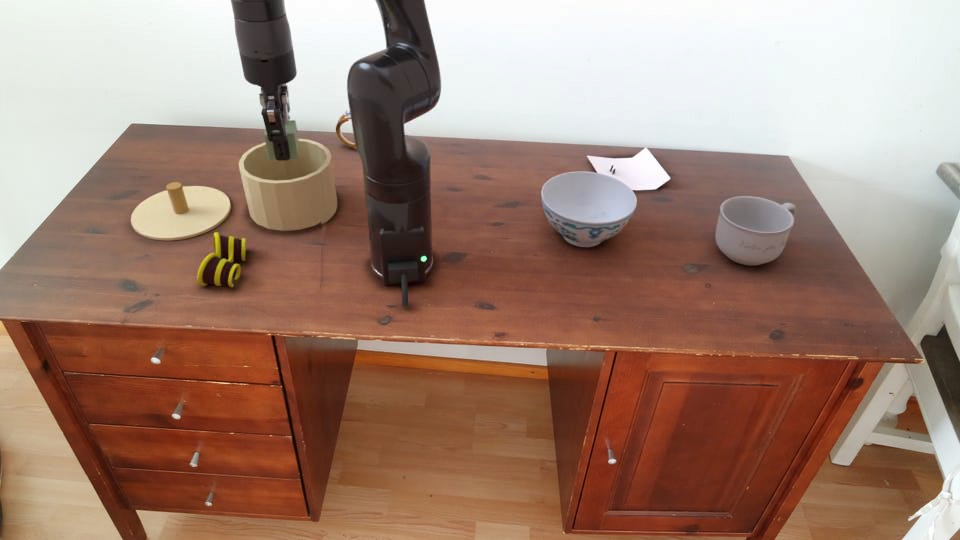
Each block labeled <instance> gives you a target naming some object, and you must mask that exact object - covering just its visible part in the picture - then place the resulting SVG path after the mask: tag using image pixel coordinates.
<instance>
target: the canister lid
mask: <svg viewBox="0 0 960 540" xmlns="http://www.w3.org/2000/svg"><path fill="white" fill-rule="evenodd" d="M165 188H166V190H163V191H159V192H158V193H155V194H153V195H151V196H149V197H147V198H146V199H144V200H143V201H141V202H140V203H139V204H138V205H137V206H136V207H135V208H134V210H133V211H132V213H131V215H130V224H131V227H132V228H133V230H134V231H135V232H136V233H137V234H138V235H139V236H141V237H144V238H147V239H150V240H153V241H154V240H155V241H163V242H164V241H166V242H167V241H168V242H169V241H171V242H172V241H181V240H186V239H190V238H195V237H197V236H201V235H203V234H206V233H207V232H209V231H212V230H214V229H215V228H217V227H219V225H221V224H222V223H223V222H224V221H225V220H226V219H227V218H228V217H229V215H230V212H231V208H232V205H231V201H230V199H229V196H228V195H226V194H225V192H223V191H222V190H219V189H217V188H214V187H210V186H203V185H202V186H201V185H186V186H185V185H184V186H182V183H181V182H179V181H172V182H169V183H168V184H166V185H165Z"/></svg>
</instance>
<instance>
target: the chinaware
mask: <svg viewBox="0 0 960 540" xmlns="http://www.w3.org/2000/svg"><path fill="white" fill-rule="evenodd" d="M540 197H541V205H542V208H543V212H544V214H545V217H546V219H547V221H548V223H549V224H550V225H551V227H552V228H553V229H554V230H555V231H556V232H557V233H558V234H560V235H561V236H562V237H563V239H564V240H565V241H566V242H568V243H569V244H571V245H573V246H575V247H580V248H591V247H595V246H598V245H599V244H601V243H602V242H604V241H607V240H609V239H611V238H613V237H615V236H616V235H617V234H619V233H620V232H621V231H622V230H623V229H624V228H625V227H626V226H627V225H628V223H629V221H630V220H631V219H632V217H633V215H634V213H635V210H636V208H637V205H638V200H637V196H636V193H635V192H634V190H631V188H630V187H628V186H627V185H626V184H625V183H623V182H621V181H620V180H618V179H616V178H613V177H611V176H608V175H604V174H600V173H597V172H594V171H582V170H579V171H577V170H576V171H569V172H564V173H563V172H562V173H560V174H556V175H554V176H552V177H550V179H548V180H546V182H545V183H544V184H543V185H542V187H541V192H540Z"/></svg>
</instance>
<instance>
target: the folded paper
mask: <svg viewBox="0 0 960 540" xmlns="http://www.w3.org/2000/svg"><path fill="white" fill-rule="evenodd" d="M586 157H587V159H588V160H589V162H590V163H591V165H592V167H593V168H594V170H595V171H596V173H600V174H604V175H608V176H611V177H613V178H616V179H618V180H620V181H621V182H623V183H625V184H626V185H627V186H628V187H630V188H631V190H632V191H651V190H653V191H654V190H657V189H658V188H660V187H661V186H663V185H664V184H666V183H667V182H668V181H669V180H671V177H670V175H669V173H667V171H666V170H665V169H664V168H663V166H661V163H659V161H658V160H657V159H656V158H655V157H654V155H653V153H652V152H651V151H650V150H649V149H648V147H644V148H643V149H642V150H641V151H639V152H638V153H637V154H635V155H634V156H632V157H619V158H618V157H616V158H613V157H605V156H604V157H603V156H594V155H586Z"/></svg>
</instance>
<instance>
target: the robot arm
mask: <svg viewBox="0 0 960 540" xmlns="http://www.w3.org/2000/svg"><path fill="white" fill-rule="evenodd" d="M374 1H375V4H376V5H377V8H378V12H379V15H380V19H381V23H382V27H383V33H384V38H385V39H384V40H385V48H384V49H381V50H379V51H376V52H374V53H371V54H368V55H366V56H364V57H361V58H359V59H358V60H356V61H354V62H353V63H352V64H351V66H350V68H349V70H348V73H347V78H346V93H347V101H348V103H347V104H348V108H349V111H350V115H351V119H350V121H351V127H352V132H353V133H352V134H353V138H354V143H355V145H356V148H357V149H356V151H357V154H358V156H359V158H360V160H361V165H362V174H363V187H364V197H365V209H366V218H367V229H368V238H369V247H370V259H371V260H370V265H371V271H372V273H373V275H375V277H376V278H378V279H379V280H381V281H382V282H383V285H384V286H395V285H396V286H397V285H401V286H400V287H401V306H402V307H409V289H408V284H419V283H425V282H426V280H427V279H426V277H427V276H428V275H430V273H431V271H432V270H433V269H434V268H433V267H434V256H433V230H432V191H431V190H432V188H431V186H432V185H431V184H432V183H431V179H432V178H431V152H430V149H429V146H428V145H427V143H425V142H424V141H423V140H421V139H419V138H417V137H415V136H412V135H408V134H406V133H405V124H407V123H409V122H411V121H413V120H415V119H417V118H419V117H422V116H423V115H425V114H427V113H429V112H431V110H433V109H435V107H436V106H437V104H438V102H439V100H440V97H441V93H442V74H441V70H440V69H441V68H440V64H439V59H438V54H437V50H436V46H435V45H436V44H435V41H434V37H433V32H432V29H431V24H430V20H429V15H428V11H427V7H426V2H425V0H374ZM230 2H231V3H230V4H231V8H232V13H233V18H234V20H233V21H234V34H235V38H236V43H237V49H238V53H239V58H240V63H241V68H242V73H243V77H244V80H245V81H246V82H248V83H249V84H251V85H252V86H253V85H254V86H257V87H260V93H259V94H258V97H259V98H258V99H259V104H260V106H261V107H262V109H261V111H260V113H261V116H262V120H263V123H264V127H265V128H266V132H267V136H268V140H269V142H273V147H274V153H275V158H276V160H278V161H284V160H289V159H290V151H289V145H288V139H287V137H288V133H287V130H286V124H287V123H288V121H290V120H291V116H290V114H289V113H290V111H291V103H290V98H289V96H290V95H289V94H290V92H289V87H288V85H287V84H288V83H290V82H292V81H294V79H295V78H296V77H297V73H298V71H297V65H296V64H297V63H296V58H295V51H294V45H293V39H292V32H291V27H290V23H289V20H288V17H287V11H286V4H285V0H230ZM265 128H264V129H265ZM274 131H277V132H274Z"/></svg>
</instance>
